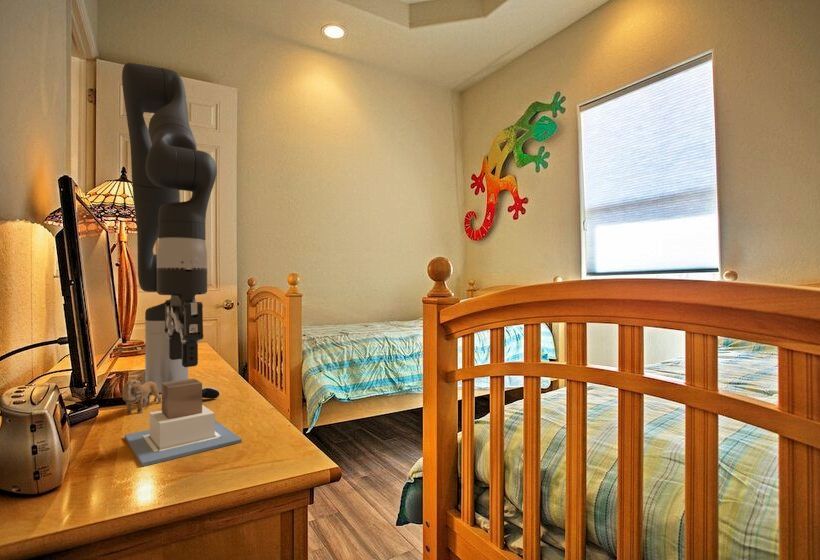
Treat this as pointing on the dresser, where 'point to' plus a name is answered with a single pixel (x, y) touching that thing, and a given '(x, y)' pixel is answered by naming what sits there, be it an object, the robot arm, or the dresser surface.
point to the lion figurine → (139, 394)
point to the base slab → (181, 428)
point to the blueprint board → (152, 454)
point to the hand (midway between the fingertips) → (182, 362)
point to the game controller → (210, 392)
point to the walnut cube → (181, 398)
